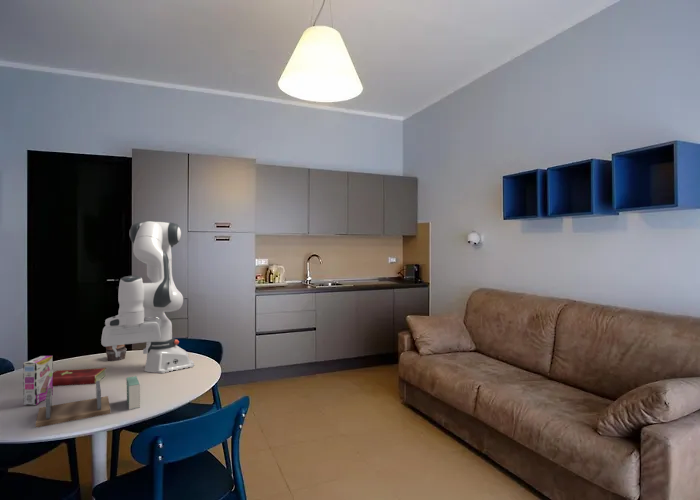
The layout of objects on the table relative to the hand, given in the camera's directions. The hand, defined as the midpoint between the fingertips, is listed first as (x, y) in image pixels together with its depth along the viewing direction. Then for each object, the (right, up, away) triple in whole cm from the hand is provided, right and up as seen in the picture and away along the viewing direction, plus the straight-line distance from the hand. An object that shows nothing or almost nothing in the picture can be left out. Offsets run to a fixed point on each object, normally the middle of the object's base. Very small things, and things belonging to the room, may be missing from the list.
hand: (131, 355), depth 167 cm
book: (0, -19, +1) cm, 19 cm away
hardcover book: (-39, -19, +29) cm, 52 cm away
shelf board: (-17, -19, -8) cm, 27 cm away
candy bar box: (-39, -19, +5) cm, 44 cm away
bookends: (-17, -18, -8) cm, 26 cm away
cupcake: (-40, -18, +64) cm, 78 cm away
